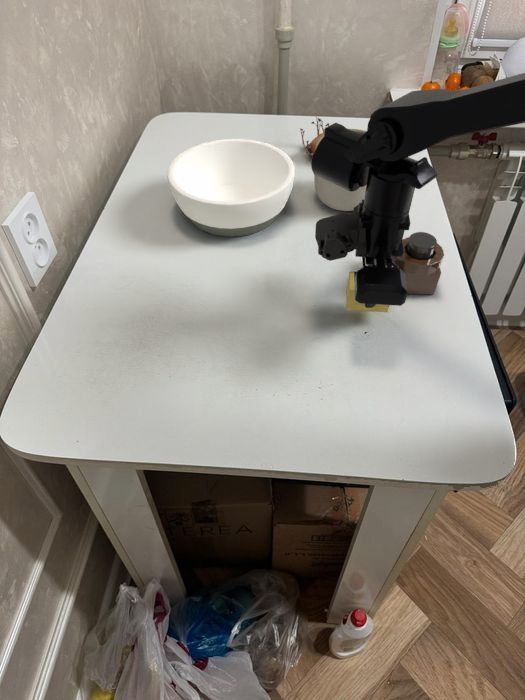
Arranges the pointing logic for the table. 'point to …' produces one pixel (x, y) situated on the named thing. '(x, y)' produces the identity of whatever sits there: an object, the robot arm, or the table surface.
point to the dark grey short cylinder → (421, 246)
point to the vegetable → (312, 145)
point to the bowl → (231, 185)
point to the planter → (338, 190)
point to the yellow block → (355, 305)
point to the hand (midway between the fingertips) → (368, 296)
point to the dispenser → (420, 270)
